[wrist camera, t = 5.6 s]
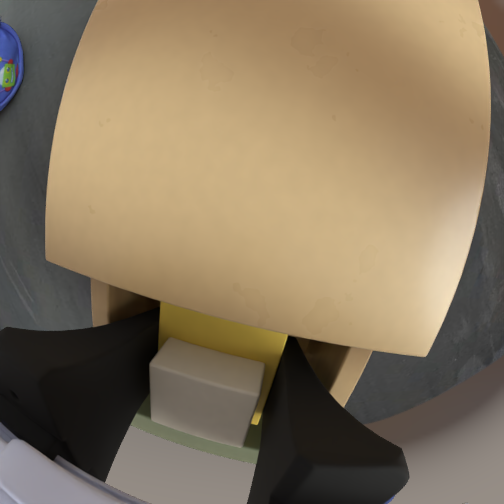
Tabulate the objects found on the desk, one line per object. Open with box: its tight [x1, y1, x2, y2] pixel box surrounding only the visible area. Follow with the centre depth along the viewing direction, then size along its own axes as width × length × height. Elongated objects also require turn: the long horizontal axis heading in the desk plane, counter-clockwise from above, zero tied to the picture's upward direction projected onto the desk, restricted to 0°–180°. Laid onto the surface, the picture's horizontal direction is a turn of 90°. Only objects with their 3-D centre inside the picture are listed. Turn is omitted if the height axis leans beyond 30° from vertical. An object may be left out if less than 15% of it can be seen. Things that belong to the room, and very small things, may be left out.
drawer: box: [91, 278, 373, 464], centre depth 11 cm, size 16×10×7 cm, turn 168°
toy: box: [149, 302, 288, 448], centre depth 10 cm, size 4×4×5 cm
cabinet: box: [45, 0, 491, 357], centre depth 9 cm, size 13×11×8 cm
